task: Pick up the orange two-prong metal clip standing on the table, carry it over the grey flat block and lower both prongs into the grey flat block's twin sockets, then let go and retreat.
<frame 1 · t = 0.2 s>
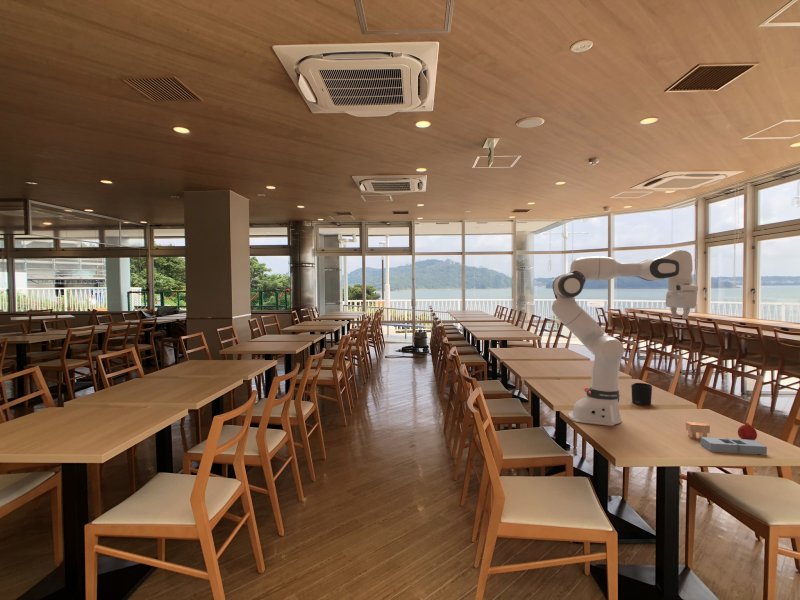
hand: (679, 318, 182), 47 cm above the table, fingers open, 8 cm apart
clip: (697, 437, 166), on the table
grey flat block: (732, 449, 153), on the table
onion: (747, 443, 160), on the table
pen holder: (641, 403, 217), on the table
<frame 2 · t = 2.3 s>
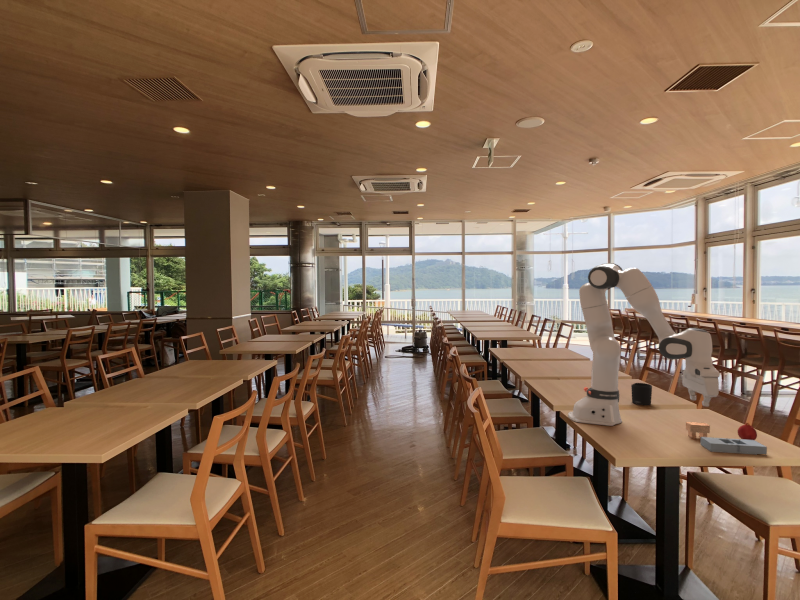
hand: (699, 402, 165), 14 cm above the table, fingers open, 8 cm apart
nothing on the table moved.
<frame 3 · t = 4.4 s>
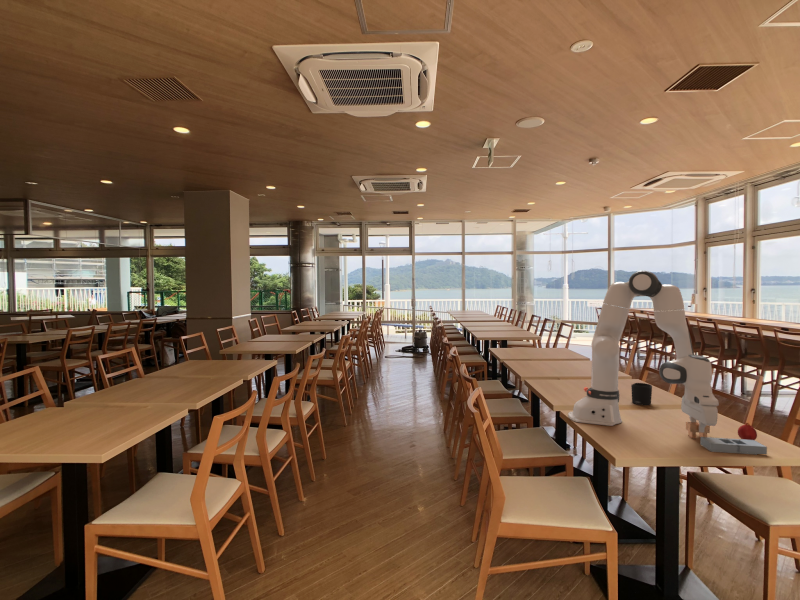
hand: (697, 429, 166), 3 cm above the table, fingers closed on clip, 3 cm apart
clip: (697, 437, 166), on the table, touching gripper
everything else where it was.
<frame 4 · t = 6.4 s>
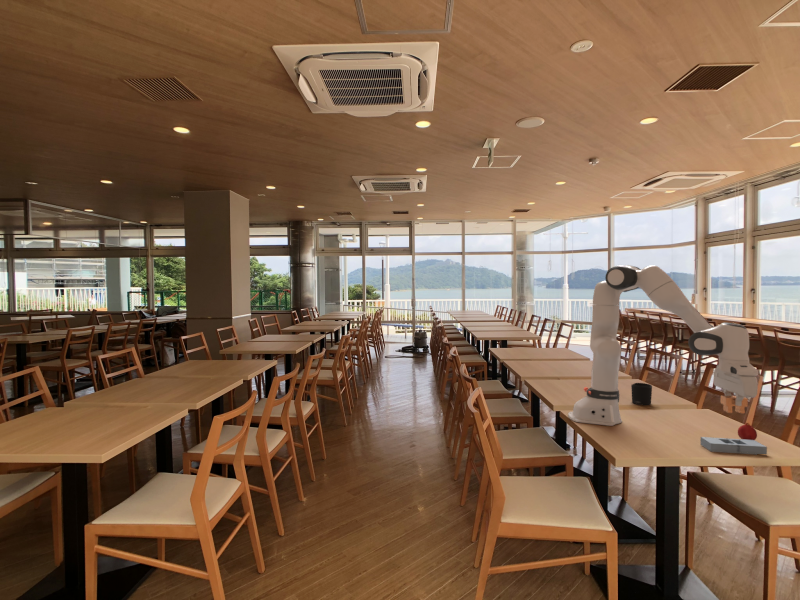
hand: (733, 403, 153), 17 cm above the table, fingers closed on clip, 3 cm apart
clip: (733, 412, 153), point 14 cm above the table, touching gripper
everything else where it was.
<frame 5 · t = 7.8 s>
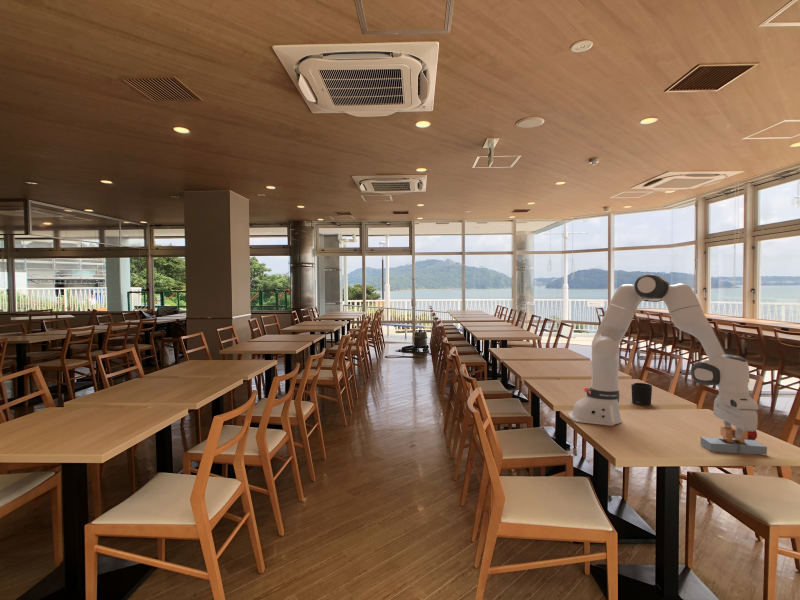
hand: (733, 435, 153), 5 cm above the table, fingers closed on clip, 3 cm apart
clip: (733, 443, 153), point 2 cm above the table, touching gripper
everything else where it was.
when the fingers open (4 cm above the table, at t = 8.6 s): clip stays where it is, resting on grey flat block.
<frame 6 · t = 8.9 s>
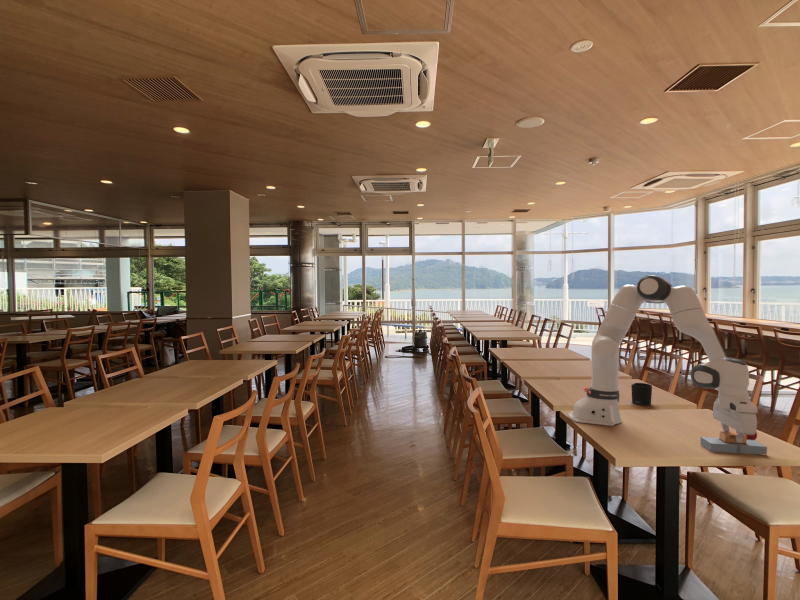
hand: (732, 438, 153), 4 cm above the table, fingers open, 6 cm apart
clip: (732, 448, 153), resting on grey flat block
everything else where it was.
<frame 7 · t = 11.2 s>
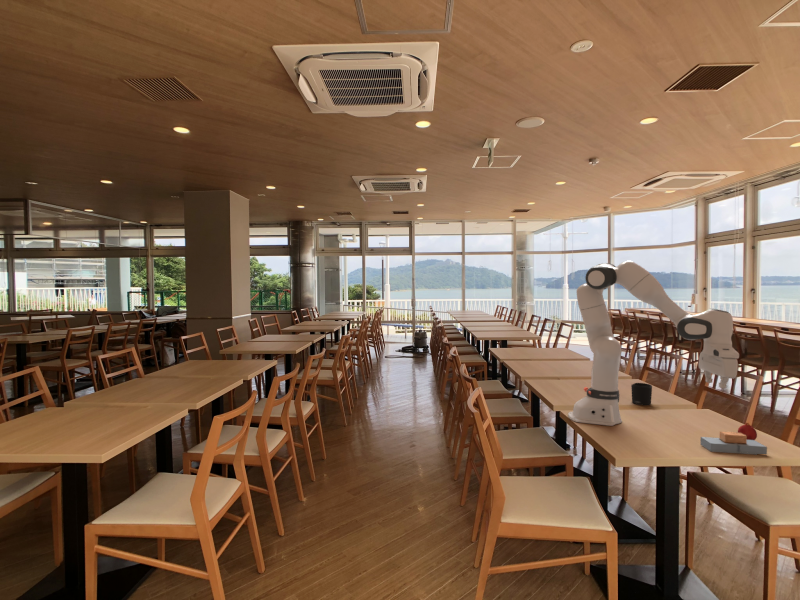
hand: (715, 385, 162), 22 cm above the table, fingers open, 8 cm apart
nothing on the table moved.
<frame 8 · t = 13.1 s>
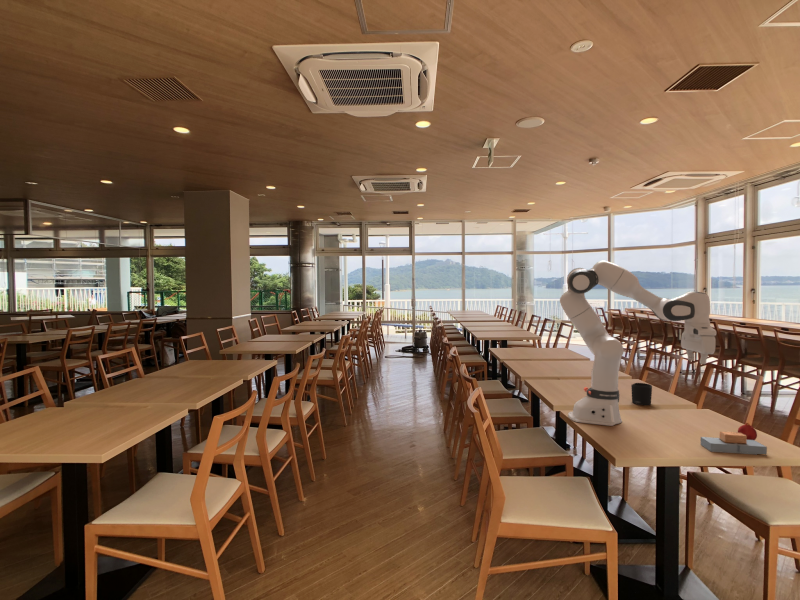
hand: (696, 361, 174), 29 cm above the table, fingers open, 8 cm apart
nothing on the table moved.
at the end: clip 0.1 cm off-centre on the grey flat block, point 0.4 cm above the grey flat block's base; clip tilted 0°; the gripper is holding nothing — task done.
